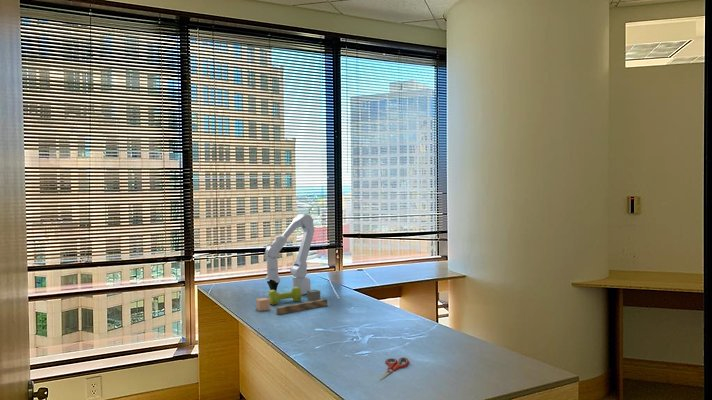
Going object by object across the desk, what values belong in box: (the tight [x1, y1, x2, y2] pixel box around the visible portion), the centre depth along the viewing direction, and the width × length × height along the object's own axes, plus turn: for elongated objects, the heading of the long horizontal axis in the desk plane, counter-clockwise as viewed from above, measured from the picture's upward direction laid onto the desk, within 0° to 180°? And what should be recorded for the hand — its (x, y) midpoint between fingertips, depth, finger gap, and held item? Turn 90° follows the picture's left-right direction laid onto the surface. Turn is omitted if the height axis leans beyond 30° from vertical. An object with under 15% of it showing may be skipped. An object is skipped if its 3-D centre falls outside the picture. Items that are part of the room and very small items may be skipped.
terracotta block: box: [255, 297, 271, 312], centre depth 240 cm, size 5×5×5 cm
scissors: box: [377, 356, 410, 383], centre depth 153 cm, size 8×21×2 cm, turn 165°
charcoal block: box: [306, 289, 322, 302], centre depth 255 cm, size 5×5×5 cm
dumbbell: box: [267, 286, 302, 306], centre depth 253 cm, size 16×8×7 cm, turn 115°
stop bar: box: [276, 298, 328, 316], centre depth 236 cm, size 26×2×3 cm, turn 123°
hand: (273, 294), depth 265 cm, fingers closed
